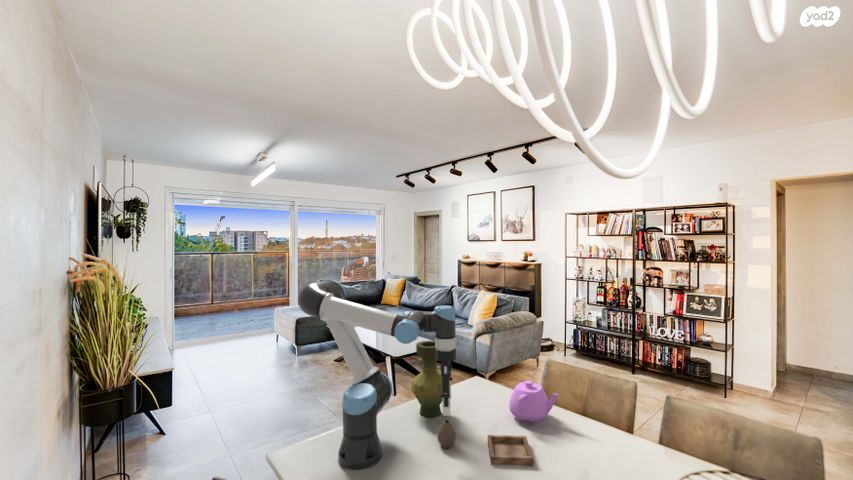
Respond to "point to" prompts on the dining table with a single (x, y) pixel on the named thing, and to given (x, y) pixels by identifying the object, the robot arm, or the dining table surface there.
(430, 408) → the vase
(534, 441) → the dining table surface
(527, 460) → the walnut tray
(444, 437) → the vase
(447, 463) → the dining table surface
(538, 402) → the teapot
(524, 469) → the dining table surface
